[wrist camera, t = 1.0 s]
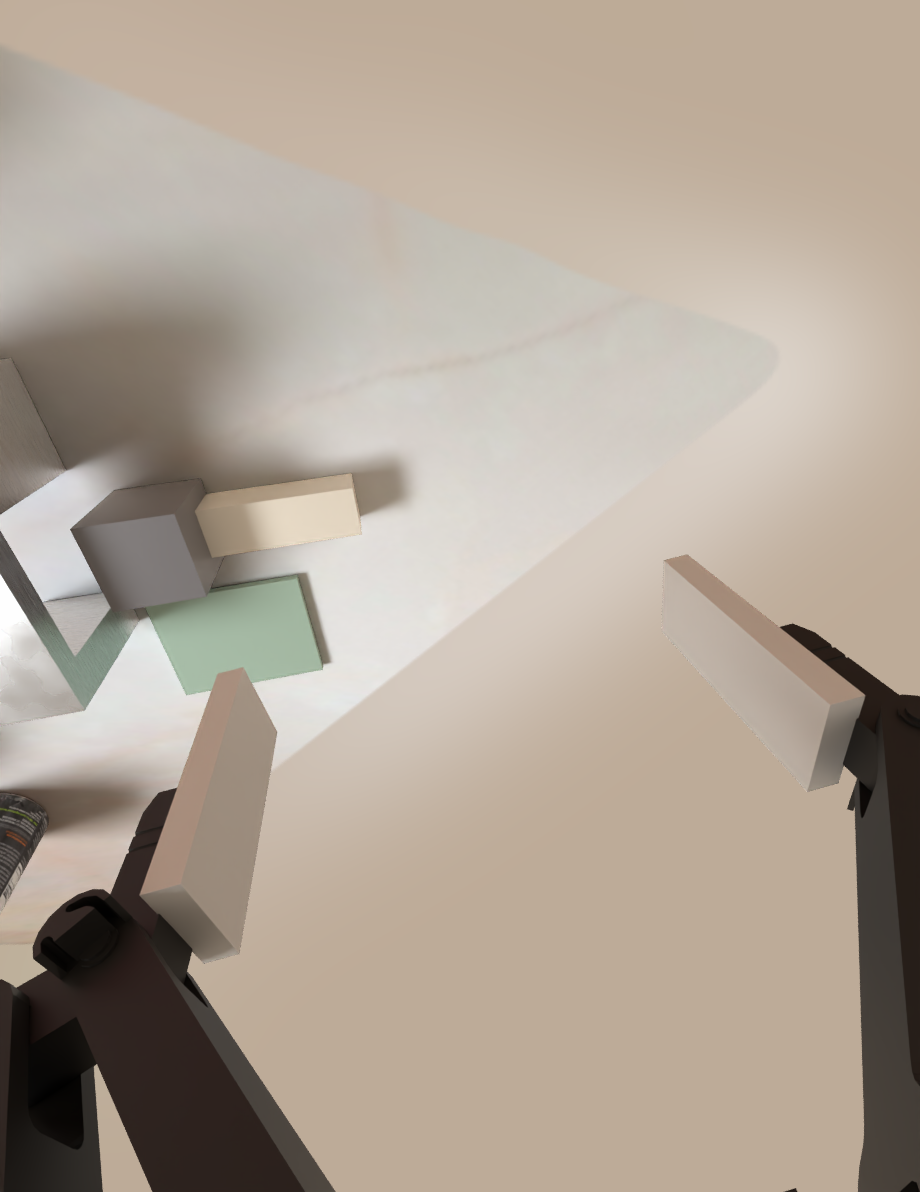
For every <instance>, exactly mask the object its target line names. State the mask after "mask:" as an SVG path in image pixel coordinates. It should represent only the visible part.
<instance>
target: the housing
mask: <svg viewBox="0 0 920 1192" xmlns="http://www.w3.org/2000/svg"><path fill="white" fill-rule="evenodd" d="M65 471H66V469H65V467H64V465H63V463H62V461H61V459H60V457H59V455H58V453H57V451H56V449H55V447H54V445H53V443H52V440H51V438H50V436H49V434H48V432H47V430H46V428H45V426H44V424H43V422H42V420H41V418H40V416H39V414H38V412H37V410H36V408H35V406H34V404H33V402H32V400H31V397H30V395H29V393H28V391H27V389H26V387H25V385H24V383H23V381H22V379H21V377H20V375H19V373H18V371H17V369H16V367H15V365H14V363H13V361H12V359H11V358H10V359H0V514H2V513H3V512H5V511H6V510H8V509H9V508H11V507H12V506H14V505H15V504H17V503H18V502H20V501H21V500H23V499H24V498H26V497H28V496H29V495H31V494H32V493H34V492H35V491H37V490H38V489H40V488H41V487H43V486H44V485H46V484H47V483H49V482H50V481H52V480H53V479H55V478H56V477H58V476H59V475H61V474H62V473H64V472H65ZM138 622H139V619H138V617H137V615H136V613H135V611H134V609H130V610H124V611H118V612H112V610H111V608H110V606H109V604H108V602H107V600H106V598H105V596H104V594H103V593H98V594H92V595H85V596H79V597H73V598H67V599H61V600H54V601H48V602H42V601H41V599H40V597H39V595H38V594H37V592H36V590H35V589H34V587H33V585H32V584H31V582H30V580H29V579H28V577H27V575H26V573H25V572H24V570H23V568H22V567H21V565H20V563H19V562H18V560H17V558H16V557H15V555H14V553H13V551H12V550H11V548H10V546H9V545H8V543H7V541H6V540H5V538H4V536H3V535H2V533H1V531H0V726H4V725H9V724H15V723H20V722H25V721H31V720H36V719H42V718H47V717H52V716H58V715H63V714H68V713H74V712H79V711H85V709H86V707H87V706H88V704H89V703H90V701H91V699H92V698H93V696H94V694H95V693H96V691H97V689H98V688H99V686H100V685H101V683H102V681H103V680H104V678H105V676H106V675H107V673H108V671H109V670H110V668H111V666H112V665H113V663H114V662H115V660H116V658H117V657H118V655H119V653H120V652H121V650H122V648H123V647H124V645H125V643H126V642H127V640H128V639H129V637H130V635H131V634H132V632H133V630H134V629H135V627H136V625H137V624H138Z"/></svg>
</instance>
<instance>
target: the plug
mask: <svg viewBox="0 0 920 1192" xmlns="http://www.w3.org/2000/svg"><path fill="white" fill-rule="evenodd" d="M70 530H71V532H72V534H73V536H74V538H75V540H76V542H77V544H78V546H79V547H80V549H81V551H82V553H83V555H84V557H85V559H86V561H87V563H88V565H89V567H90V569H91V571H92V573H93V575H94V577H95V579H96V581H97V582H98V584H99V586H100V588H101V590H102V592H103V594H104V596H105V598H106V600H107V602H108V604H109V606H110V608H111V610H112V612H118V611H124V610H130V609H136V608H142V607H148V606H154V605H160V604H166V603H172V602H178V601H184V600H190V599H196V598H202V597H207V595H208V593H209V591H210V588H211V586H212V584H213V581H214V579H215V577H216V575H217V572H218V570H219V568H220V566H221V563H222V561H223V559H224V556H227V555H233V554H240V553H246V552H252V551H259V550H265V549H271V548H278V547H284V546H291V545H297V544H303V543H310V542H316V541H322V540H329V539H335V538H341V537H348V536H354V535H361V534H362V532H361V520H360V513H359V508H358V503H357V498H356V493H355V488H354V483H353V478H352V473H349V474H342V475H335V476H328V477H321V478H314V479H307V480H300V481H293V482H286V483H279V484H272V485H265V486H258V487H251V488H244V489H237V490H230V491H223V492H216V493H209V494H206V492H205V489H204V486H203V483H202V480H201V478H199V479H192V480H185V481H178V482H170V483H163V484H156V485H149V486H142V487H134V488H127V489H120V490H114V491H113V492H112V493H111V494H109V495H108V496H107V497H106V498H105V499H104V500H103V501H101V502H100V503H99V504H98V505H97V506H96V507H95V508H94V509H92V510H91V511H90V512H89V513H88V514H87V515H86V516H85V517H83V518H82V519H81V520H80V521H79V522H78V523H77V524H75V525H74V526H73V527H72V528H71V529H70Z"/></svg>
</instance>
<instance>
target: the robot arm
mask: <svg viewBox="0 0 920 1192" xmlns="http://www.w3.org/2000/svg"><path fill="white" fill-rule="evenodd" d="M663 572H664V573H663V609H662V632H663V633H664V634H665V635H666V636H667V638H668V639H669V640H670V641H671V642H672V643H673V644H674V645H675V647H677V649H678V650H679V651H680V652H681V653H682V654H683V655H684V656H685V658H686V659H687V660H688V661H689V662H690V663H691V664H692V665H693V666H694V667H695V669H696V670H697V671H698V672H699V673H700V674H701V675H702V676H703V677H704V678H705V680H706V681H707V682H708V683H709V684H710V685H711V686H712V687H713V688H714V690H715V691H716V692H717V693H718V694H719V695H720V696H721V697H722V698H723V700H724V701H725V702H726V703H727V704H728V705H729V706H730V707H731V708H732V709H733V711H735V713H736V714H737V715H738V716H739V717H740V718H741V719H742V721H743V722H744V723H745V724H746V725H747V726H748V727H749V728H750V729H751V730H752V732H753V733H754V734H755V735H756V736H757V737H758V738H759V739H760V740H761V741H762V743H764V745H765V746H766V747H767V748H768V749H769V750H770V751H771V752H772V754H773V755H774V756H775V757H776V758H777V759H778V760H779V761H780V762H781V764H783V766H784V767H785V768H786V769H787V770H788V771H789V772H790V774H791V775H792V776H793V777H794V778H795V779H796V780H797V781H798V782H799V783H800V785H801V786H802V787H803V788H804V789H805V790H806V791H807V792H809V791H813V790H816V789H820V788H823V787H827V786H830V785H834V784H837V783H839V779H840V776H841V773H842V770H843V767H844V766H845V767H846V768H847V769H848V770H849V771H850V772H851V773H852V774H853V775H855V776H856V777H857V781H856V784H855V787H854V790H853V792H852V796H851V799H850V801H849V805H848V808H847V809H849V810H852V811H853V810H854V807H855V829H856V863H857V895H858V896H857V897H858V929H859V930H858V931H859V963H860V997H861V1028H862V1030H861V1031H862V1065H863V1098H864V1143H863V1149H862V1156H861V1161H860V1167H859V1179H858V1192H920V696H913V695H899V694H897V693H896V692H894V691H893V690H892V689H890V688H889V687H888V686H886V685H885V684H884V683H882V682H881V681H880V680H878V679H877V678H875V677H874V676H873V675H871V674H870V673H869V672H867V671H866V670H865V669H863V668H862V667H861V666H859V665H858V664H856V663H855V662H854V661H852V660H851V659H850V658H846V657H845V655H844V654H843V653H842V652H840V651H839V650H838V649H836V648H832V646H831V644H830V643H828V642H827V641H826V640H824V639H823V638H821V637H820V636H819V635H817V634H816V633H815V632H812V631H810V630H807V629H805V628H803V627H800V626H798V625H795V624H789V625H785V626H782V627H778V626H777V625H776V624H775V623H773V622H772V621H771V620H769V619H768V618H767V617H766V616H764V615H763V614H762V613H761V612H759V611H758V610H757V609H756V608H754V607H753V606H752V605H750V604H749V603H748V602H747V601H745V600H744V599H743V598H742V597H740V596H739V595H738V594H736V593H735V592H734V591H733V590H732V589H730V588H729V587H727V586H726V585H725V584H724V583H723V582H721V581H720V580H719V579H718V578H716V577H715V576H713V574H711V573H710V572H709V571H707V570H706V569H705V568H703V567H702V566H701V565H700V564H699V563H697V562H696V561H695V560H693V559H692V558H691V557H690V556H688V555H683V556H679V557H675V558H671V559H667V560H664V571H663ZM276 736H277V731H276V729H275V727H274V725H273V723H272V721H271V719H270V717H269V715H268V713H267V712H266V710H265V708H264V706H263V704H262V702H261V700H260V698H259V696H258V694H257V692H256V690H255V688H254V687H253V685H252V683H251V681H250V679H249V677H248V675H247V673H246V671H245V669H244V667H242V668H238V669H234V670H230V671H226V672H222V673H218V674H217V677H216V680H215V682H214V685H213V688H212V691H211V694H210V697H209V699H208V702H207V705H206V708H205V711H204V714H203V716H202V719H201V722H200V725H199V728H198V731H197V734H196V736H195V739H194V742H193V745H192V748H191V751H190V753H189V756H188V759H187V762H186V765H185V768H184V770H183V773H182V776H181V779H180V782H179V785H178V787H177V788H175V789H171V790H167V791H163V792H160V793H158V794H157V796H156V797H155V798H154V799H153V801H152V802H151V803H150V805H149V806H148V807H147V808H146V810H145V811H144V812H143V815H142V817H141V819H140V822H139V824H138V827H137V829H136V832H135V834H136V836H135V837H133V839H132V842H131V844H130V847H129V849H128V850H129V853H128V854H126V857H125V859H124V862H123V864H122V867H121V869H120V872H119V874H118V877H117V879H116V882H115V884H114V887H113V889H112V892H111V894H109V893H107V892H106V891H105V890H103V889H92V890H89V891H86V892H84V893H81V894H78V895H76V896H75V897H73V898H72V899H70V900H69V901H67V902H66V903H64V904H63V905H62V906H61V907H60V908H59V909H57V910H56V911H55V912H54V913H53V914H52V915H51V916H50V917H49V918H48V920H47V921H46V923H45V924H44V925H43V927H42V928H41V930H40V931H39V932H38V935H37V937H36V940H35V943H34V945H33V959H34V960H35V961H37V962H38V963H39V964H41V965H42V966H43V967H45V968H46V969H47V971H45V972H43V973H41V974H40V975H38V976H36V977H34V978H33V979H31V980H29V981H27V982H26V983H24V984H22V985H21V986H19V987H17V988H15V987H14V986H13V985H11V984H10V983H8V982H6V981H4V980H2V979H1V980H0V1192H103V1190H102V1176H101V1162H100V1148H99V1134H98V1121H97V1108H96V1093H95V1079H94V1066H95V1065H96V1064H97V1065H98V1067H99V1070H100V1072H101V1074H102V1077H103V1079H104V1081H105V1083H106V1086H107V1088H108V1090H109V1093H110V1095H111V1097H112V1099H113V1102H114V1104H115V1106H116V1109H117V1111H118V1113H119V1116H120V1118H121V1120H122V1123H123V1125H124V1127H125V1130H126V1132H127V1134H128V1136H129V1139H130V1141H131V1143H132V1146H133V1148H134V1150H135V1153H136V1155H137V1157H138V1159H139V1162H140V1164H141V1167H142V1169H143V1171H144V1173H145V1176H146V1178H147V1180H148V1183H149V1185H150V1187H151V1190H152V1192H335V1190H334V1189H333V1187H332V1186H331V1184H330V1183H329V1181H328V1180H327V1178H326V1177H325V1175H324V1174H323V1172H322V1171H321V1169H320V1168H319V1166H318V1165H317V1163H316V1162H315V1160H314V1159H313V1158H312V1156H311V1154H310V1153H309V1151H308V1150H307V1148H306V1147H305V1145H304V1144H303V1142H302V1141H301V1139H300V1138H299V1136H298V1135H297V1133H296V1132H295V1130H294V1129H293V1127H292V1126H291V1124H290V1123H289V1121H288V1120H287V1118H286V1117H285V1115H284V1114H283V1112H282V1111H281V1109H280V1108H279V1106H278V1105H277V1104H276V1102H275V1100H274V1099H273V1097H272V1096H271V1094H270V1093H269V1091H268V1090H267V1089H266V1087H265V1085H264V1084H263V1082H262V1081H261V1079H260V1078H259V1076H258V1075H257V1073H256V1072H255V1070H254V1069H253V1067H252V1066H251V1064H250V1063H249V1061H248V1060H247V1058H246V1057H245V1055H244V1054H243V1052H242V1051H241V1049H240V1048H239V1046H238V1045H237V1043H236V1042H235V1040H234V1039H233V1037H232V1036H231V1034H230V1033H229V1031H228V1030H227V1028H226V1027H225V1025H224V1024H223V1022H222V1021H221V1019H220V1018H219V1016H218V1015H217V1013H216V1012H215V1010H214V1009H213V1007H212V1006H211V1004H210V1003H209V1001H208V1000H207V998H206V997H205V995H204V994H203V992H202V991H201V989H200V988H199V986H198V985H197V983H196V982H195V981H194V979H193V977H192V976H191V975H190V974H189V973H188V972H187V969H188V965H189V961H190V956H191V953H192V952H193V953H194V954H195V955H196V956H197V957H198V958H199V959H200V960H201V961H202V962H203V963H204V964H205V963H208V962H212V961H215V960H219V959H223V958H225V957H230V956H233V955H237V954H239V953H240V947H241V941H242V935H243V929H244V923H245V917H246V912H247V906H248V899H249V893H250V888H251V882H252V877H253V871H254V865H255V859H256V853H257V847H258V841H259V836H260V829H261V824H262V818H263V812H264V807H265V801H266V794H267V788H268V783H269V777H270V771H271V766H272V760H273V754H274V748H275V742H276ZM785 1192H797V1190H796V1188H795V1189H792V1190H789V1191H785Z"/></svg>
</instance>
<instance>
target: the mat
mask: <svg viewBox="0 0 920 1192" xmlns="http://www.w3.org/2000/svg"><path fill="white" fill-rule="evenodd" d="M145 609H146V611H147V613H148V615H149V617H150V619H151V622H152V624H153V626H154V628H155V630H156V632H157V634H158V636H159V638H160V641H161V643H162V645H163V647H164V649H165V651H166V653H167V655H168V657H169V659H170V662H171V664H172V666H173V668H174V670H175V672H176V674H177V676H178V678H179V681H180V683H181V685H182V687H183V689H184V691H185V693H186V695H190V694H195V693H200V692H206V691H211V690H212V688H213V685H214V682H215V680H216V677H217V674H218V673H222V672H226V671H230V670H234V669H238V668H242V667H244V669H245V671H246V673H247V675H248V677H249V679H250V681H251V683H254V682H259V681H265V680H270V679H275V678H281V677H286V676H291V675H297V674H302V673H307V672H313V671H318V670H323V663H322V660H321V656H320V653H319V649H318V646H317V642H316V639H315V635H314V631H313V628H312V624H311V621H310V617H309V614H308V610H307V607H306V603H305V600H304V596H303V593H302V589H301V586H300V582H299V578H298V575H292V576H286V577H280V578H274V579H268V580H262V581H256V582H250V583H244V584H238V585H231V586H225V587H219V588H213V589H210V591H209V593H208V595H207V597H202V598H196V599H190V600H184V601H178V602H172V603H166V604H160V605H154V606H148V607H145Z"/></svg>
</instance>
